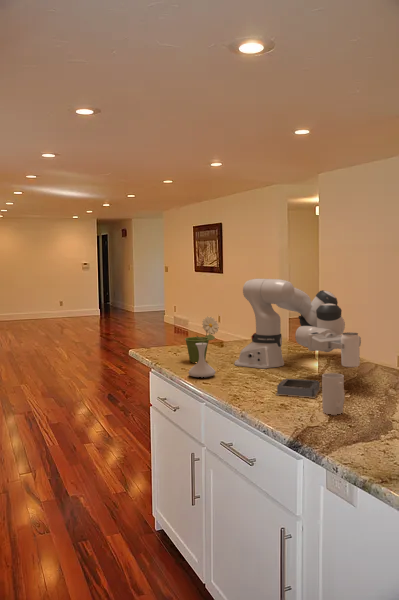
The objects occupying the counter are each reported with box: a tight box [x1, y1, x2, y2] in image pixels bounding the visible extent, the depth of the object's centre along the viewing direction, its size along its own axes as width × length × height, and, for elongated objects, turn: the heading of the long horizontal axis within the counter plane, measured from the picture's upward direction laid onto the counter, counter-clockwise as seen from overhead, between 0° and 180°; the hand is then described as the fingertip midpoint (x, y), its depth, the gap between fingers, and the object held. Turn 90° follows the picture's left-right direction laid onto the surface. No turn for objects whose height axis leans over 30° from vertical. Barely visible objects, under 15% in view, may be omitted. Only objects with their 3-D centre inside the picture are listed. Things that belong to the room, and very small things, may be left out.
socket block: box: [275, 378, 322, 399], centre depth 198 cm, size 14×14×3 cm
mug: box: [321, 372, 345, 416], centre depth 171 cm, size 10×7×12 cm, turn 15°
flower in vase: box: [188, 316, 219, 379], centre depth 225 cm, size 13×11×25 cm
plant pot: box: [184, 336, 210, 364], centre depth 254 cm, size 12×12×11 cm
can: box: [340, 331, 361, 368], centre depth 199 cm, size 6×6×12 cm
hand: (351, 345), depth 198 cm, fingers closed on can, 6 cm apart
